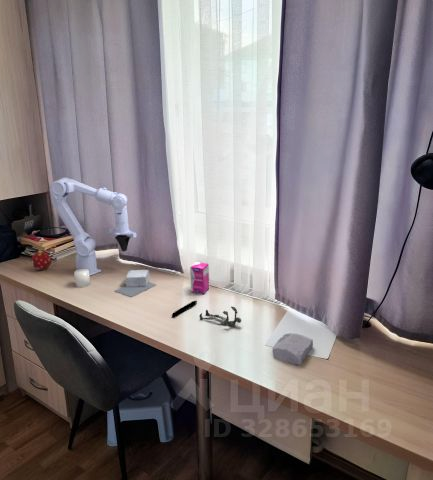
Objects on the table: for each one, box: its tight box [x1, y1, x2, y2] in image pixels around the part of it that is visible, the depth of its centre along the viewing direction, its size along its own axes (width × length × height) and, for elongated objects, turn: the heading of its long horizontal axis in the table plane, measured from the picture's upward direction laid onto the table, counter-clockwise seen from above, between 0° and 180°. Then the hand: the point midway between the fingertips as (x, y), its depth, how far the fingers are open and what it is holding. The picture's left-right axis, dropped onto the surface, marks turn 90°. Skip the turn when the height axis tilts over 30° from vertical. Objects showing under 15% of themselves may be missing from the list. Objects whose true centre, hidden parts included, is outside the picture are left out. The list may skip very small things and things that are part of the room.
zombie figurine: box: [199, 305, 242, 327], centre depth 136 cm, size 5×7×15 cm
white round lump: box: [73, 269, 91, 288], centre depth 169 cm, size 6×6×6 cm
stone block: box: [272, 332, 314, 366], centre depth 120 cm, size 12×5×10 cm
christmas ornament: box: [31, 249, 52, 271], centre depth 186 cm, size 9×9×10 cm
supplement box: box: [189, 261, 210, 295], centre depth 160 cm, size 6×6×12 cm
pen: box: [171, 300, 198, 318], centre depth 146 cm, size 2×14×2 cm, turn 143°
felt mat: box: [114, 281, 157, 298], centre depth 165 cm, size 10×14×1 cm
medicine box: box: [125, 269, 150, 287], centre depth 169 cm, size 8×4×9 cm
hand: (124, 250), depth 180 cm, fingers closed
